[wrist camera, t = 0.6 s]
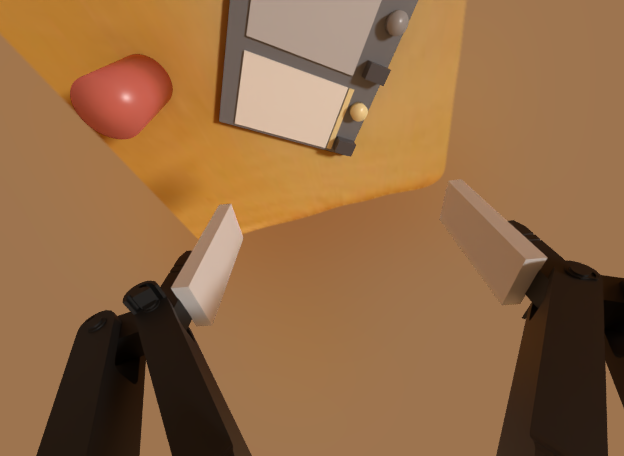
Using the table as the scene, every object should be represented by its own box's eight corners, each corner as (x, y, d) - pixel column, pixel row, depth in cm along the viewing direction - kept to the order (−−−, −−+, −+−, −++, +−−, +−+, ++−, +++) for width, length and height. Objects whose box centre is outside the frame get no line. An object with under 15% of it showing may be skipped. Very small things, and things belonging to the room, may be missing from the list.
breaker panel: (239, -95, 22) (236, -103, 20) (414, -2, 28) (425, -1, 26) (220, 118, 34) (217, 126, 32) (346, 153, 40) (350, 160, 38)
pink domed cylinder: (116, 46, 27) (61, 65, 20) (171, 64, 29) (139, 87, 22) (123, 98, 31) (79, 130, 24) (173, 111, 33) (145, 145, 25)
